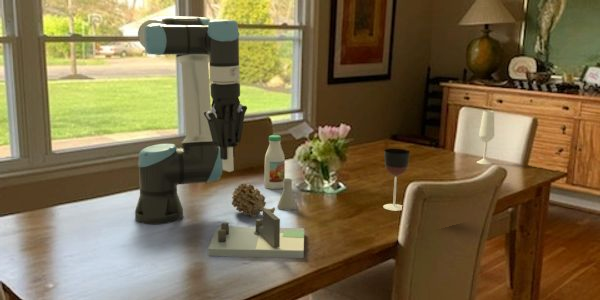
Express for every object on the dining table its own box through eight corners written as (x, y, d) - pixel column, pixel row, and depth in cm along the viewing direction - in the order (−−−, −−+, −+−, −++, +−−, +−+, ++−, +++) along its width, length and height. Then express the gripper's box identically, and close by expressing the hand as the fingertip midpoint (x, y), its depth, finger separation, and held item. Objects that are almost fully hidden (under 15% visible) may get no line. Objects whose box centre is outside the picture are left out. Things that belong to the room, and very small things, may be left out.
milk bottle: (261, 188, 227) (262, 137, 223) (267, 183, 235) (268, 133, 230) (281, 190, 225) (282, 138, 221) (286, 185, 233) (287, 134, 228)
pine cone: (223, 212, 199) (222, 183, 197) (245, 206, 206) (245, 178, 204) (266, 229, 184) (267, 198, 182) (289, 222, 191) (289, 192, 188)
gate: (254, 230, 175) (254, 204, 174) (262, 229, 176) (262, 203, 175) (272, 247, 162) (272, 220, 161) (280, 246, 163) (281, 218, 162)
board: (208, 255, 163) (207, 238, 162) (218, 232, 180) (217, 216, 179) (304, 258, 162) (304, 240, 161) (304, 234, 180) (305, 218, 179)
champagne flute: (475, 163, 274) (480, 111, 269) (477, 160, 280) (481, 109, 275) (490, 165, 271) (495, 112, 266) (492, 161, 277) (497, 110, 272)
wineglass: (386, 202, 213) (389, 147, 209) (409, 206, 209) (413, 150, 205) (377, 207, 207) (380, 151, 202) (401, 212, 202) (404, 155, 198)
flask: (295, 211, 201) (296, 183, 199) (274, 209, 203) (275, 181, 201) (299, 205, 208) (300, 177, 206) (279, 203, 210) (280, 176, 208)
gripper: (214, 86, 145) (218, 178, 151) (253, 80, 154) (255, 167, 161) (195, 83, 150) (199, 172, 156) (234, 77, 159) (236, 162, 166)
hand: (228, 170), depth 158 cm, fingers closed
